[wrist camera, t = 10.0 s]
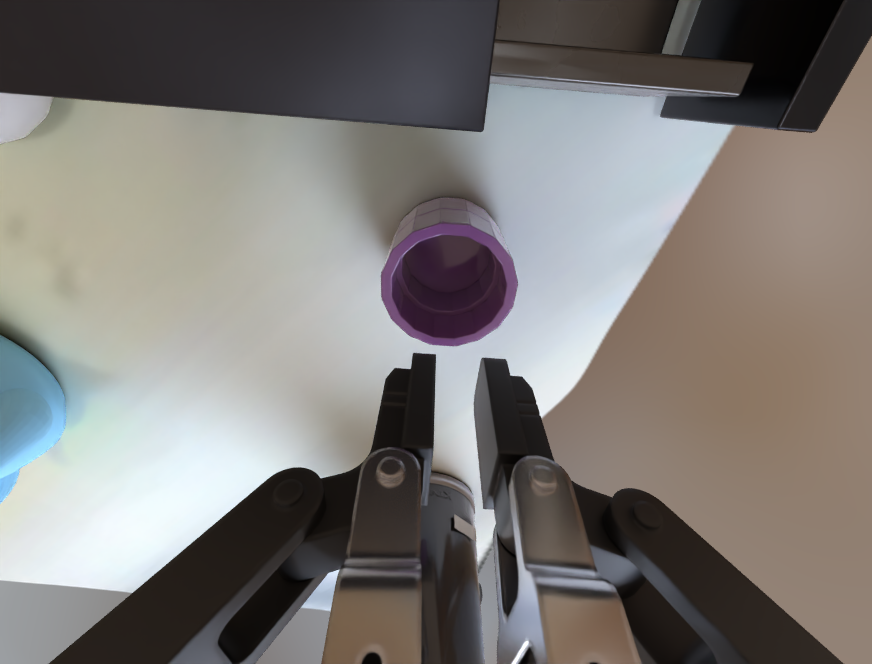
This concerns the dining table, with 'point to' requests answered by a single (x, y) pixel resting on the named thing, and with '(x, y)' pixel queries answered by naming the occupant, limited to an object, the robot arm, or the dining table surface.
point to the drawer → (690, 55)
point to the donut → (21, 115)
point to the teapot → (26, 412)
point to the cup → (448, 273)
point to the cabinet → (260, 56)
